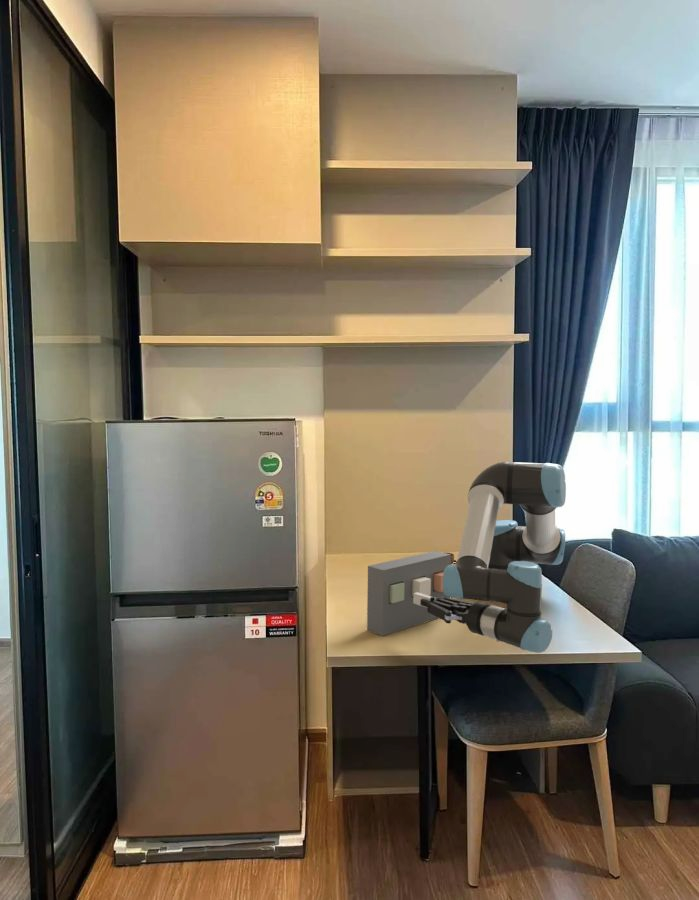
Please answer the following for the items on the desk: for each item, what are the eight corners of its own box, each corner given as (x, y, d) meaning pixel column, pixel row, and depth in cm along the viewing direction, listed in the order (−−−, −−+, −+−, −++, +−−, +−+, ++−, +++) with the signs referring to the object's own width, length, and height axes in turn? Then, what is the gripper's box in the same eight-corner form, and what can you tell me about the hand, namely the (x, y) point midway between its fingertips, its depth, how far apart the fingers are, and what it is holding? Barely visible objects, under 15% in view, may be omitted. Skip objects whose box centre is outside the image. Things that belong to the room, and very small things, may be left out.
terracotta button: (436, 585, 196) (436, 569, 196) (451, 589, 192) (451, 573, 192) (426, 587, 193) (426, 572, 193) (440, 592, 189) (441, 576, 189)
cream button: (415, 590, 190) (416, 574, 190) (430, 595, 186) (430, 578, 186) (404, 593, 187) (405, 577, 187) (419, 598, 183) (419, 581, 183)
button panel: (434, 609, 201) (435, 550, 199) (449, 614, 196) (451, 554, 195) (367, 630, 182) (367, 565, 181) (382, 636, 178) (383, 570, 176)
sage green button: (389, 595, 185) (390, 579, 185) (404, 599, 181) (404, 583, 181) (378, 598, 182) (378, 582, 182) (392, 603, 178) (392, 586, 178)
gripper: (470, 642, 154) (397, 616, 172) (504, 629, 163) (431, 606, 180) (471, 610, 154) (398, 588, 171) (504, 599, 162) (431, 579, 180)
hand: (415, 597), depth 176 cm, fingers closed
